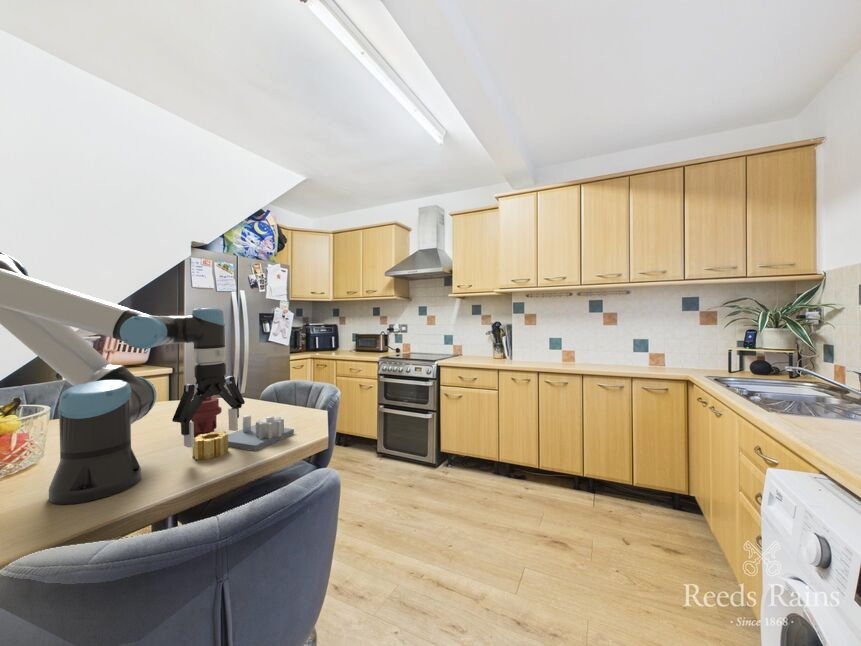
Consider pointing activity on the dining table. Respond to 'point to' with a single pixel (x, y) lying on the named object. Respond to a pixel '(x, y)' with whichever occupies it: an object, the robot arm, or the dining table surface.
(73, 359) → the robot arm
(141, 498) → the dining table surface
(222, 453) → the brass gear
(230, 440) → the gear board
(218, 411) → the mechanical component
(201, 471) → the dining table surface
